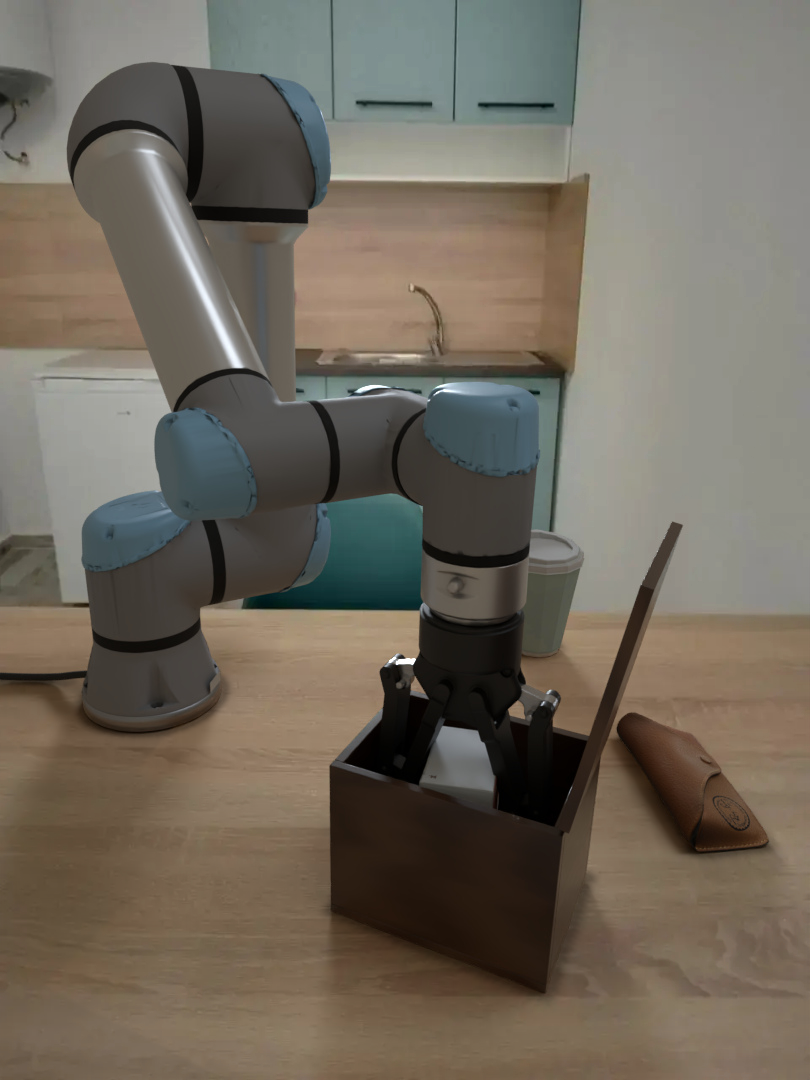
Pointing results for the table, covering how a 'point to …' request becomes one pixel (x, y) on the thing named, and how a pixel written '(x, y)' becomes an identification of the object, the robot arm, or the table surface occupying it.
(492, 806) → the small box
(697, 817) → the sunglasses case
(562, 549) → the disposable coffee cup
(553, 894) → the chest
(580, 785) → the lid
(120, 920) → the table surface
